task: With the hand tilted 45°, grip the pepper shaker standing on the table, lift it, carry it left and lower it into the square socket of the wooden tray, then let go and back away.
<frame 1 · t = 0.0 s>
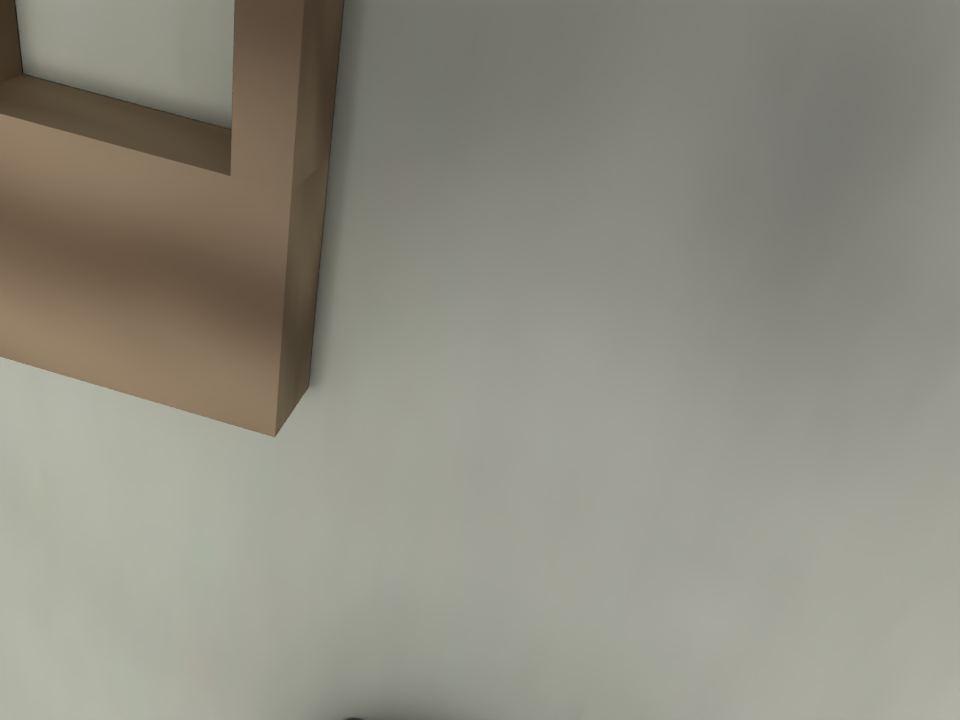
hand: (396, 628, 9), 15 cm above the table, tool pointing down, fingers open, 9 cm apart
wooden tray: (146, 88, 22), on the table
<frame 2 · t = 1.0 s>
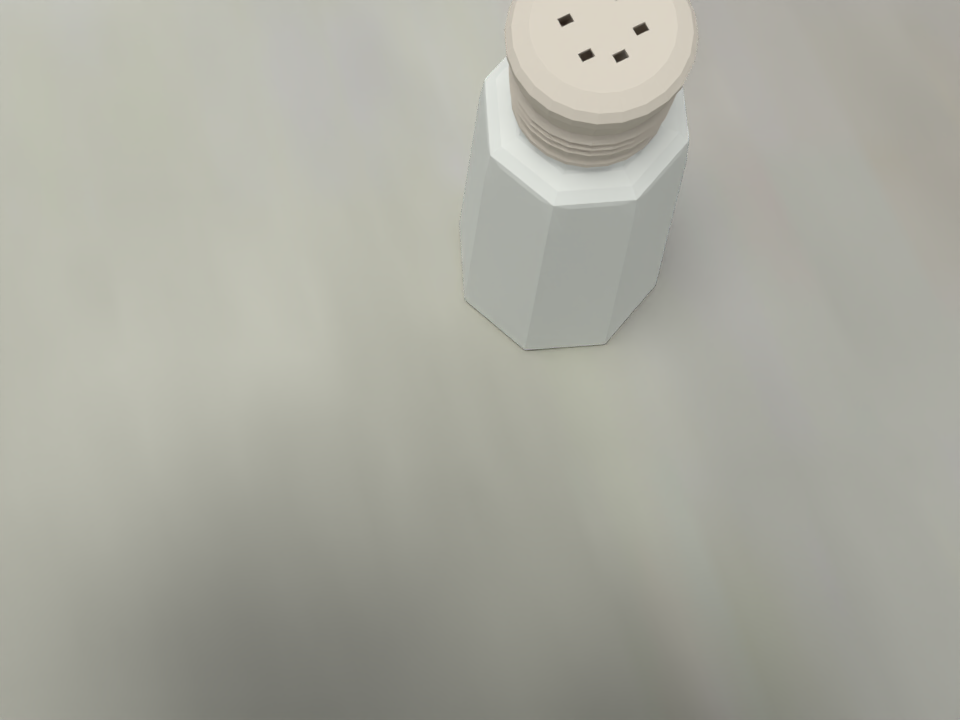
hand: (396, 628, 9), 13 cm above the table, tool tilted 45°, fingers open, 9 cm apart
pepper shaker: (555, 258, 23), on the table
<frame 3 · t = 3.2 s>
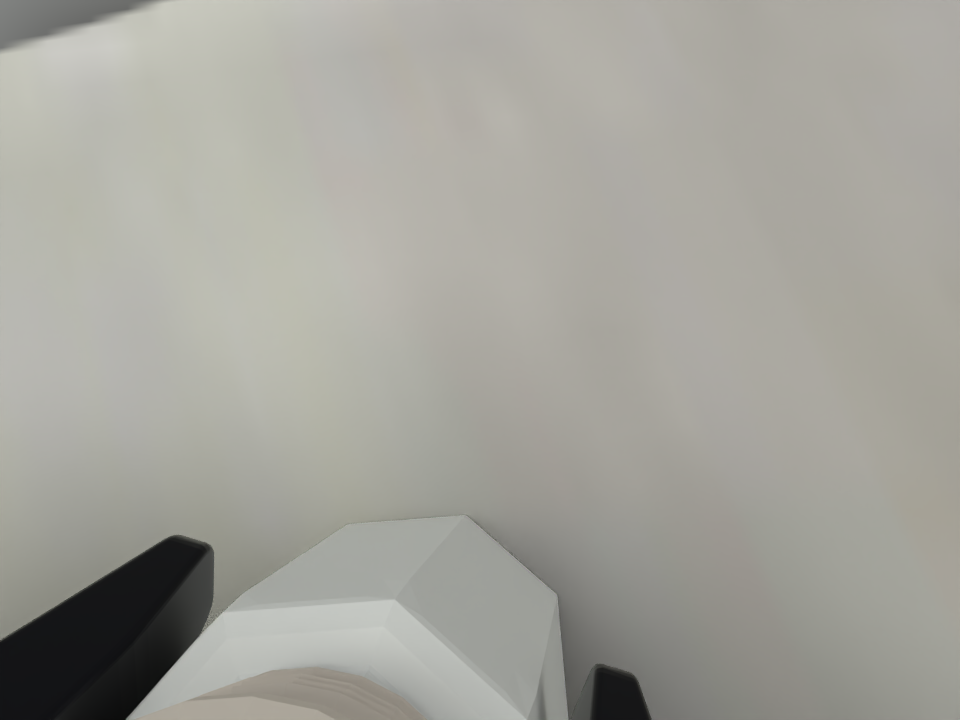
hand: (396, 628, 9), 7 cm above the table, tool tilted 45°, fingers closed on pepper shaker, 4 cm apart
pepper shaker: (417, 665, 15), on the table, touching gripper
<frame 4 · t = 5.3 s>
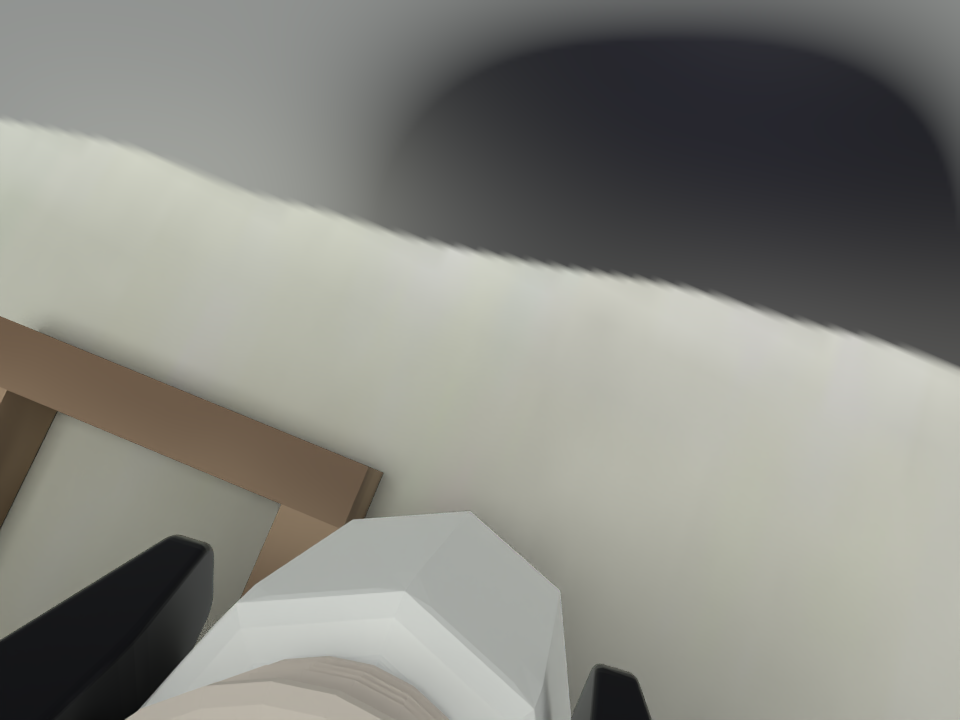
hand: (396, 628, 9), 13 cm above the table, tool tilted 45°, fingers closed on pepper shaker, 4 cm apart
pepper shaker: (421, 660, 15), point 6 cm above the table, touching gripper
wooden tray: (67, 702, 21), on the table
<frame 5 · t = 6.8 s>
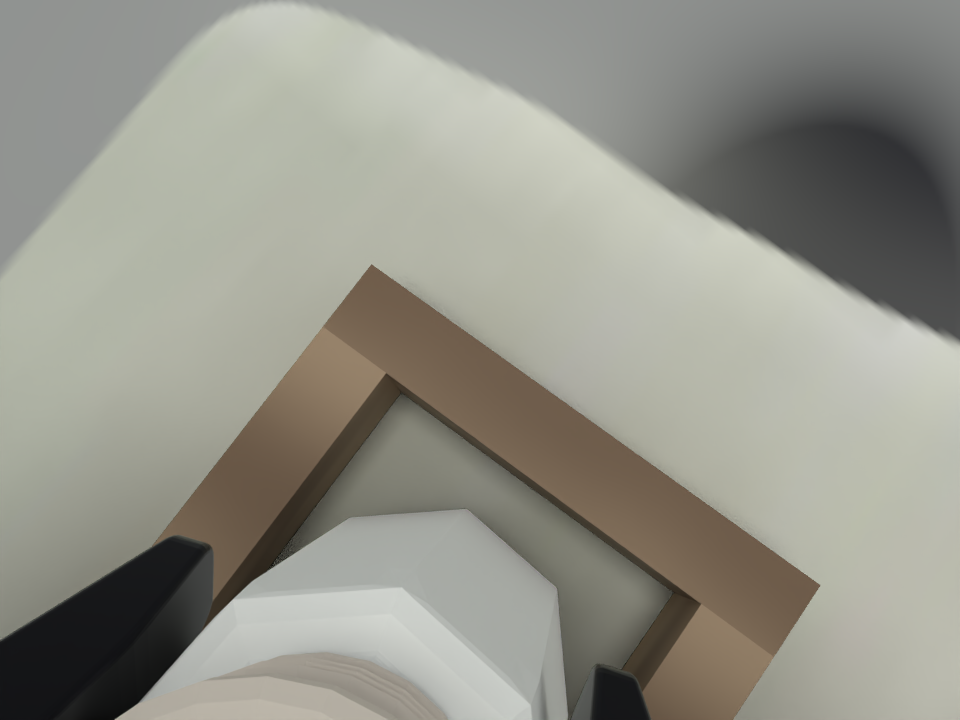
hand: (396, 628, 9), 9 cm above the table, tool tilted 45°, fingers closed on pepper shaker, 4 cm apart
pepper shaker: (418, 658, 15), point 2 cm above the table, touching gripper
when the fingers open (8 cm above the table, at t = 7.9 s): pepper shaker drops 1 cm, resting in wooden tray.
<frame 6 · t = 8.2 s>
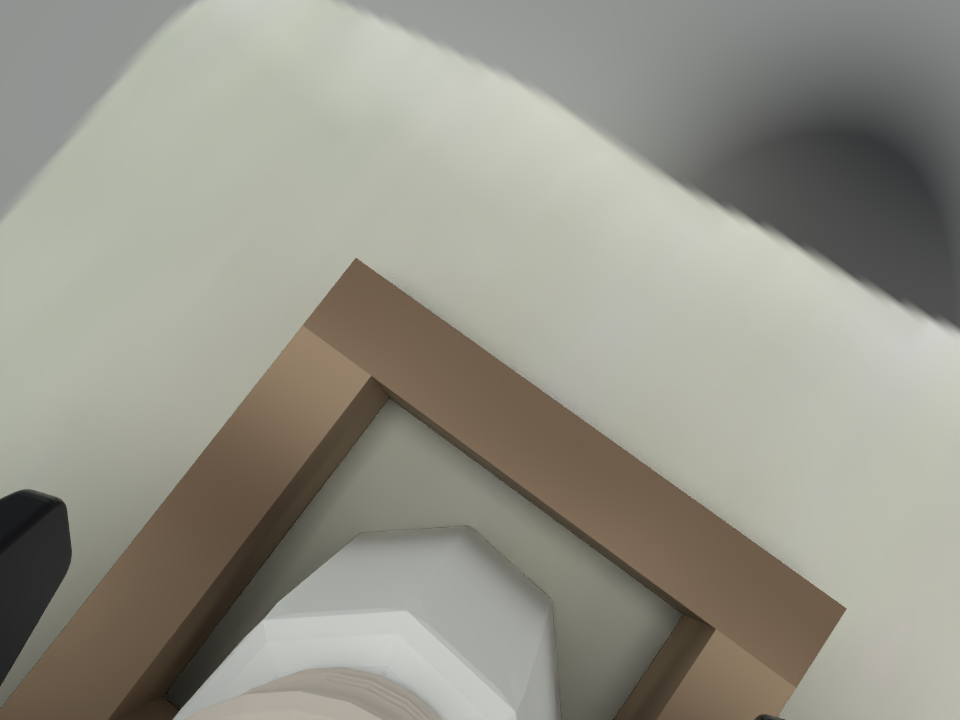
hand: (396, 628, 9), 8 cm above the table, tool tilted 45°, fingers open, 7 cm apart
pepper shaker: (423, 663, 17), resting in wooden tray
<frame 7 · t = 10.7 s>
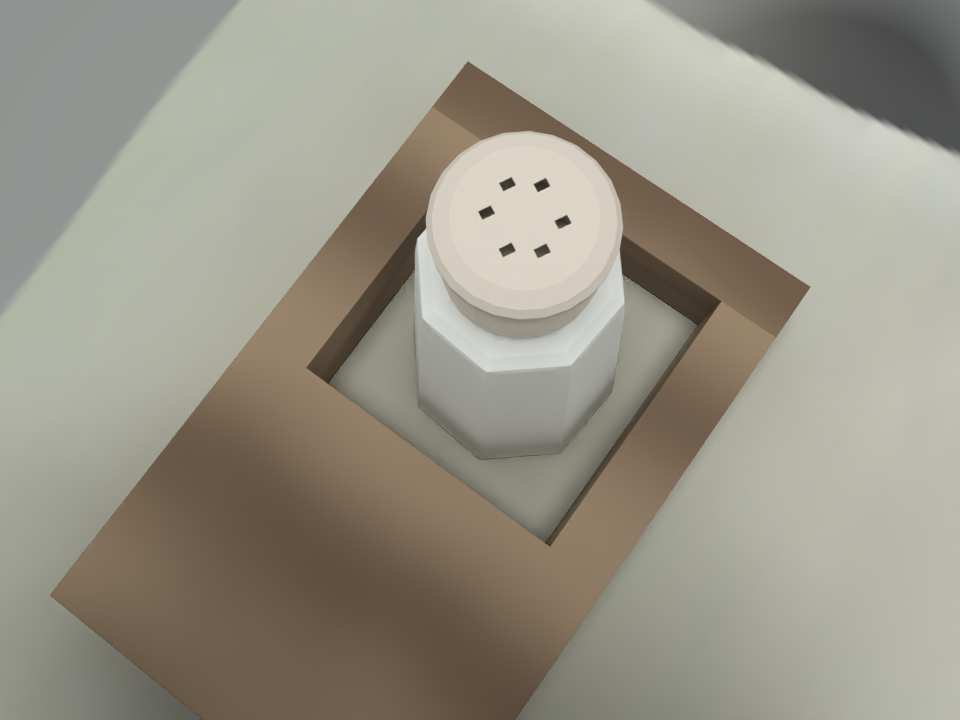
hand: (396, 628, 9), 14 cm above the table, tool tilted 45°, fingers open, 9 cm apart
pepper shaker: (511, 362, 23), resting in wooden tray
wooden tray: (445, 446, 23), on the table
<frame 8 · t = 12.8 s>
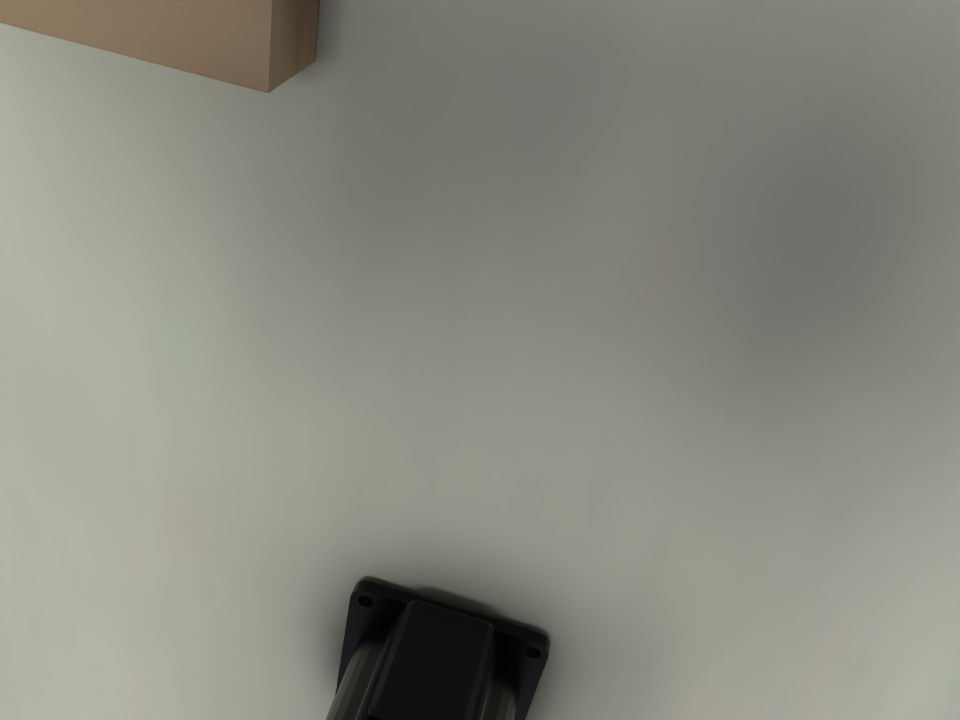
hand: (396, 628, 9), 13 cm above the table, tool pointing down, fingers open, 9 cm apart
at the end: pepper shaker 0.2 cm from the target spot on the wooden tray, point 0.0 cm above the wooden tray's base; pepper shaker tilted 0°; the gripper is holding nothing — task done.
